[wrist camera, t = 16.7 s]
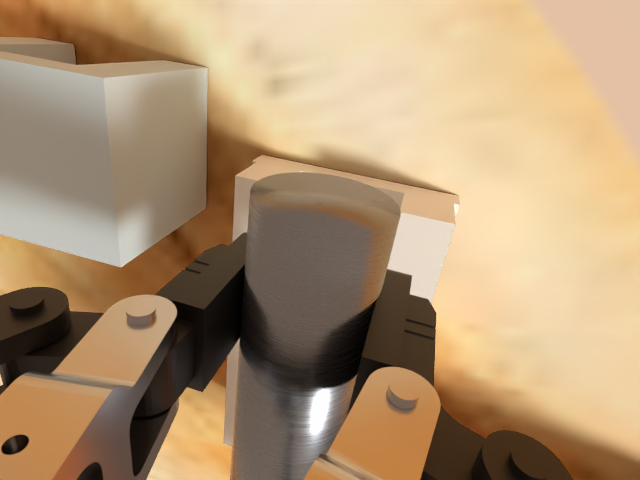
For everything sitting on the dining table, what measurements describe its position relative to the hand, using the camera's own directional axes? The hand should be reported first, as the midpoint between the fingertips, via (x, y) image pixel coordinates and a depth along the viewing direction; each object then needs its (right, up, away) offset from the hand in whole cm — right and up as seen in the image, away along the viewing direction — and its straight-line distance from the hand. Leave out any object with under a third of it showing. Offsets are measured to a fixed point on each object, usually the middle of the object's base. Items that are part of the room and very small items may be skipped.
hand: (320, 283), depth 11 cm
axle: (-1, -4, +3) cm, 5 cm away
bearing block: (-9, +6, +7) cm, 13 cm away
